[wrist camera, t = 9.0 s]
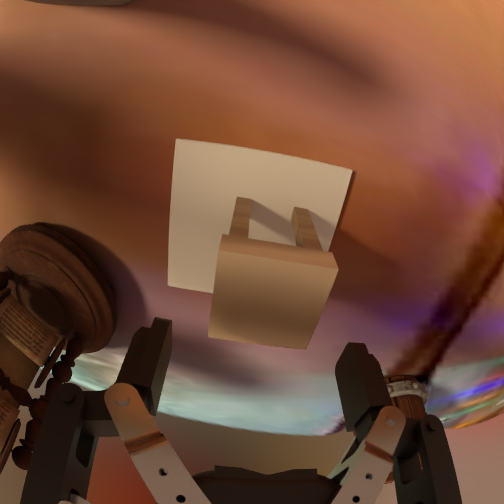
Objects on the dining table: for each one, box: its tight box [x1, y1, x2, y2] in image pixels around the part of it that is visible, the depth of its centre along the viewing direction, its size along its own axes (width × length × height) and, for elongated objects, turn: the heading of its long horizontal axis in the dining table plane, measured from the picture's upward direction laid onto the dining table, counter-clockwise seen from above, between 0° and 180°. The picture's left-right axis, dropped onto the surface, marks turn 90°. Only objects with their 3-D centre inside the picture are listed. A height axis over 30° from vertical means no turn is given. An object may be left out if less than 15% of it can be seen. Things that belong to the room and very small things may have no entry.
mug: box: [343, 375, 429, 484], centre depth 28 cm, size 12×14×15 cm
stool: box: [208, 197, 339, 350], centre depth 18 cm, size 6×6×8 cm
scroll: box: [0, 222, 117, 474], centre depth 17 cm, size 15×15×20 cm
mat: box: [168, 138, 353, 293], centre depth 22 cm, size 12×12×1 cm
